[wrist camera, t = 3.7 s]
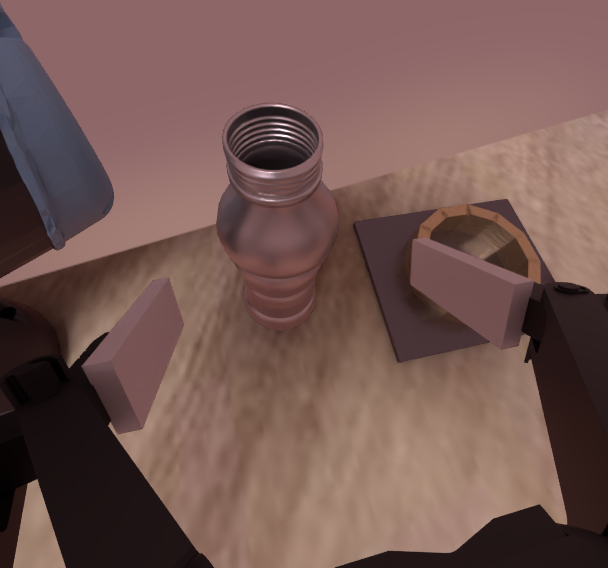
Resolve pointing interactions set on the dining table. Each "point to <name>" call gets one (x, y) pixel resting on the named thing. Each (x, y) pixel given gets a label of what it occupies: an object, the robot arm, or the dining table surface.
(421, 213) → the collar stand
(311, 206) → the plastic bottle
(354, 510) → the dining table surface
